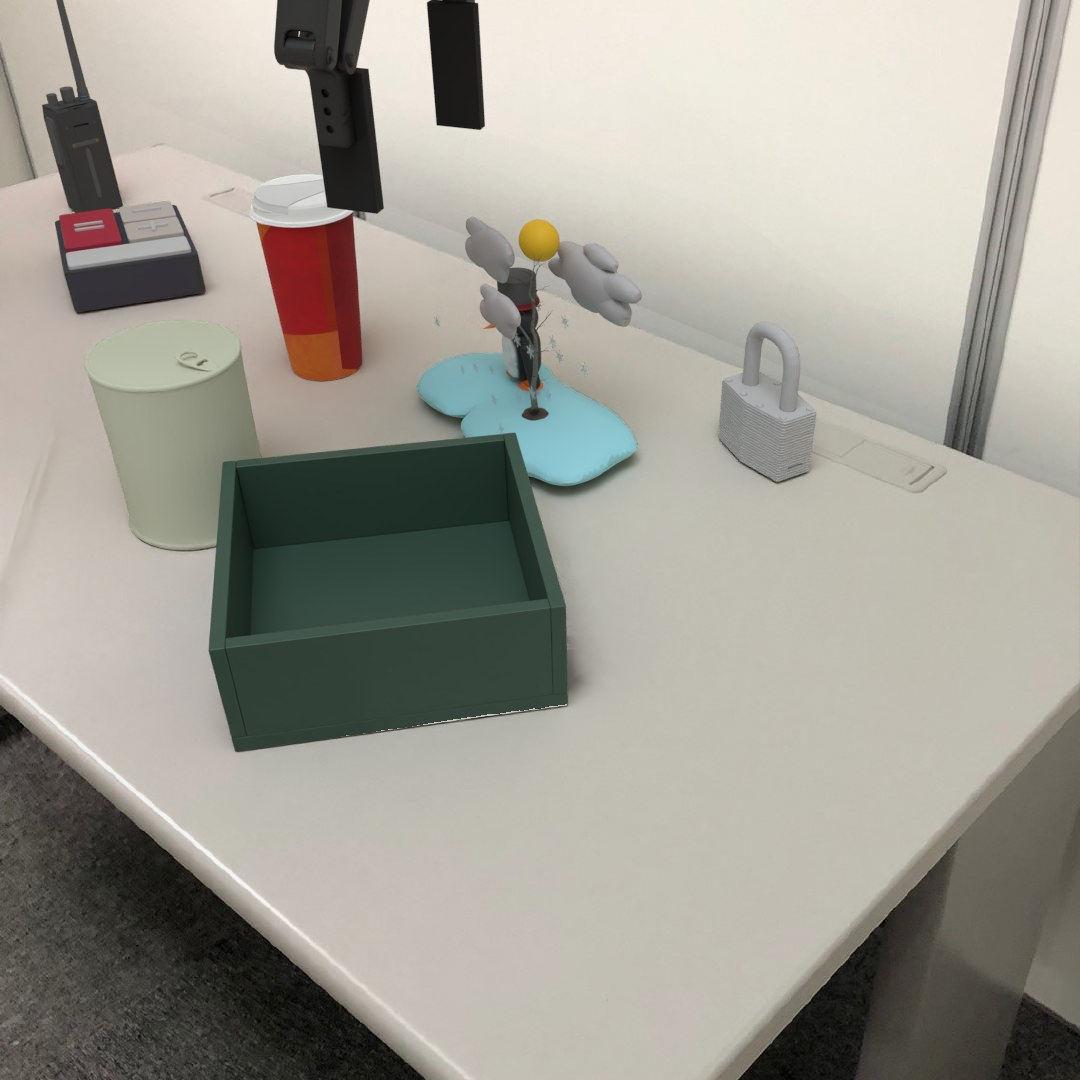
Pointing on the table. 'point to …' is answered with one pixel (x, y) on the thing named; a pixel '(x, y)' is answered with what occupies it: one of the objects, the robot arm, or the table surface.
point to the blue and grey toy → (535, 358)
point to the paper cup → (311, 275)
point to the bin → (382, 591)
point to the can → (173, 424)
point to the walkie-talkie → (80, 140)
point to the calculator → (127, 256)
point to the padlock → (768, 410)
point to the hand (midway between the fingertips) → (412, 164)
